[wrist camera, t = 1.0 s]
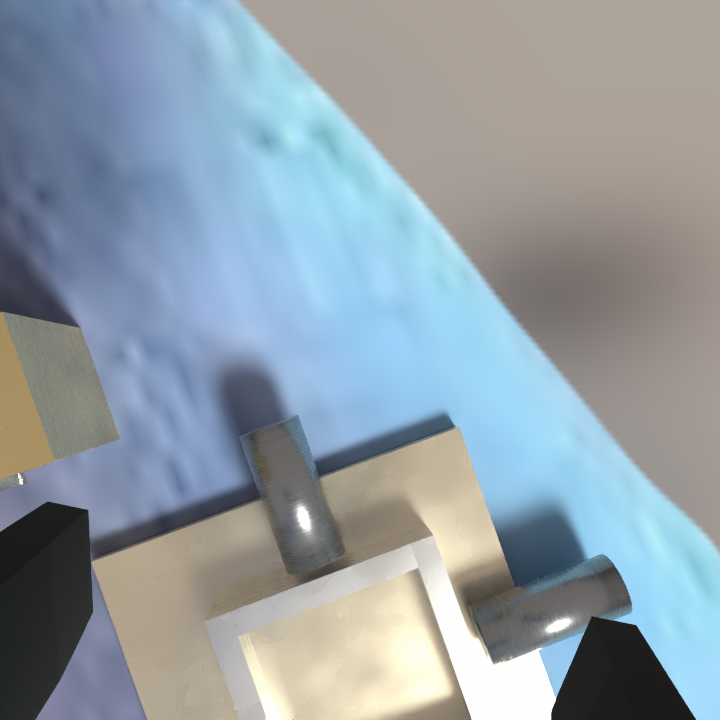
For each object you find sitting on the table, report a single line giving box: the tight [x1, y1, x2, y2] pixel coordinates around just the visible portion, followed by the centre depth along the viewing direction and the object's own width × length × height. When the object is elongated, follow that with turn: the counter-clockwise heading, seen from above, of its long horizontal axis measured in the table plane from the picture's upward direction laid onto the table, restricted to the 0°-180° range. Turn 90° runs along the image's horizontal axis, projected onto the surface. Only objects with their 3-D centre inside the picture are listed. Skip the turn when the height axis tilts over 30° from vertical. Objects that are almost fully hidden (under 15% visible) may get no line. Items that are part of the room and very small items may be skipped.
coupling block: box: [0, 312, 120, 492], centre depth 20 cm, size 4×5×6 cm
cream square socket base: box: [91, 415, 632, 720], centre depth 23 cm, size 16×15×3 cm
